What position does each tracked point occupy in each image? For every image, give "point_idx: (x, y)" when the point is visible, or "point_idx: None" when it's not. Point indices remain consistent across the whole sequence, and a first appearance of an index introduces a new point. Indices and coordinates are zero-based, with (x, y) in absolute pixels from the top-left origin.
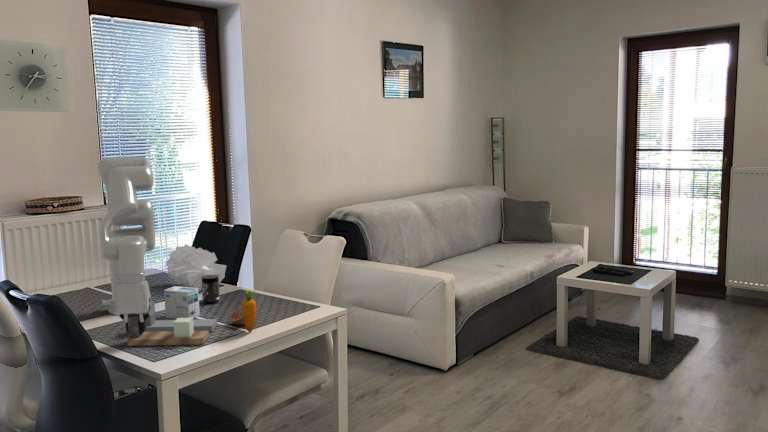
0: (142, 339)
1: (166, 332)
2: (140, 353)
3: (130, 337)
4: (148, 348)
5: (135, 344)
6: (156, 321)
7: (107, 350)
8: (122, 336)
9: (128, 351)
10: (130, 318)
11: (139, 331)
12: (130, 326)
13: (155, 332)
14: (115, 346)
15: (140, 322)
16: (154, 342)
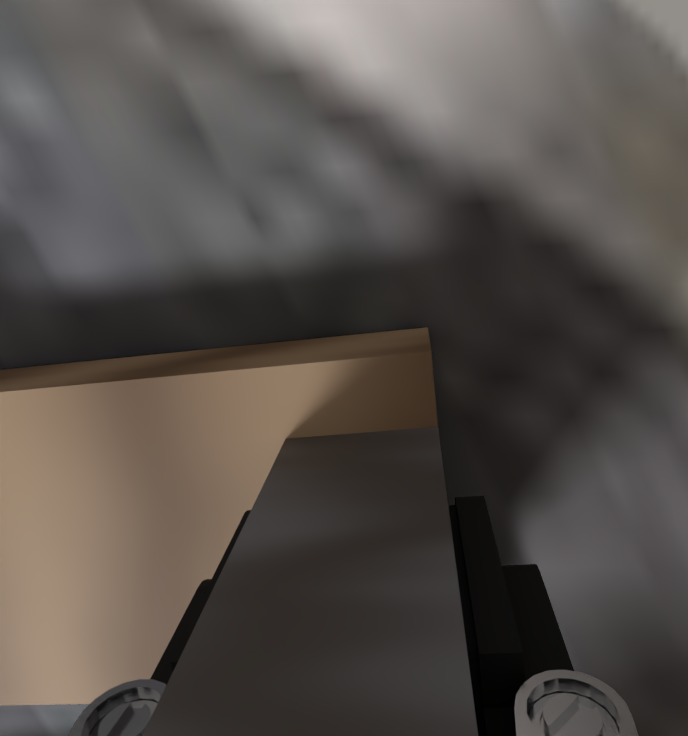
0: (182, 372)
1: (14, 662)
2: (87, 28)
3: (410, 432)
4: (94, 258)
5: (312, 343)
6: None
7: (678, 126)
8: (669, 695)
9: (314, 106)
10: (373, 722)
11: None
12: (394, 544)
13: None
14: (615, 318)
15: None
16: (39, 374)
